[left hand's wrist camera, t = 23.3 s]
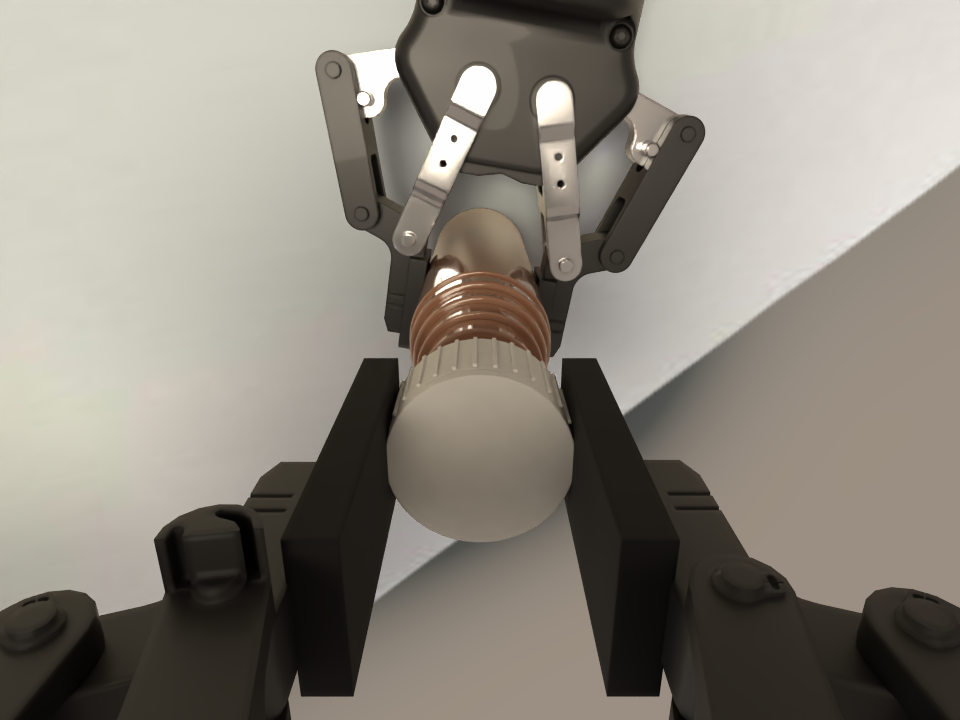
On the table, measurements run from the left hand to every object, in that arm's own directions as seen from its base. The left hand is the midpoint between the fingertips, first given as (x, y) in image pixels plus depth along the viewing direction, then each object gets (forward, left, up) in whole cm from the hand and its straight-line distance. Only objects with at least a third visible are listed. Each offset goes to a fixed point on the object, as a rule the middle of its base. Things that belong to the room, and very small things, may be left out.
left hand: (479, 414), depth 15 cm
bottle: (0, 0, -18) cm, 18 cm away
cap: (0, 0, +2) cm, 2 cm away
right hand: (-2, -2, -11) cm, 12 cm away
